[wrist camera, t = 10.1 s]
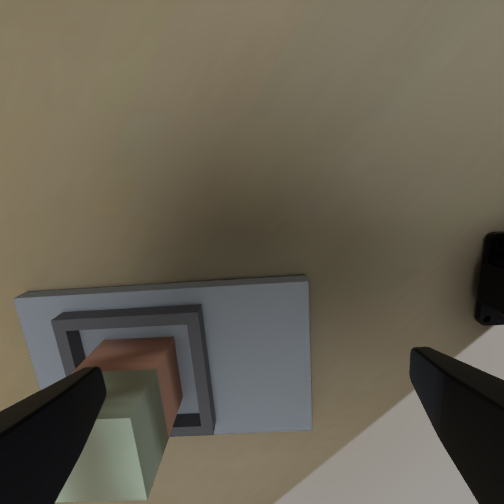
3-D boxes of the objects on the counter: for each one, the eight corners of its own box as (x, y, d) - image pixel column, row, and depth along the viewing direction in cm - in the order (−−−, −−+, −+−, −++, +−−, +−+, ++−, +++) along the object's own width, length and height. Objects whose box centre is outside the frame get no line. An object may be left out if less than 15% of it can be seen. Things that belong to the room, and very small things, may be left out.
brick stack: (173, 336, 20) (130, 418, 13) (183, 396, 21) (147, 499, 14) (103, 339, 20) (25, 421, 13) (116, 399, 21) (50, 502, 15)
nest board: (305, 275, 20) (311, 287, 18) (309, 417, 23) (314, 444, 20) (26, 291, 21) (-3, 306, 18) (65, 427, 24) (44, 454, 21)
